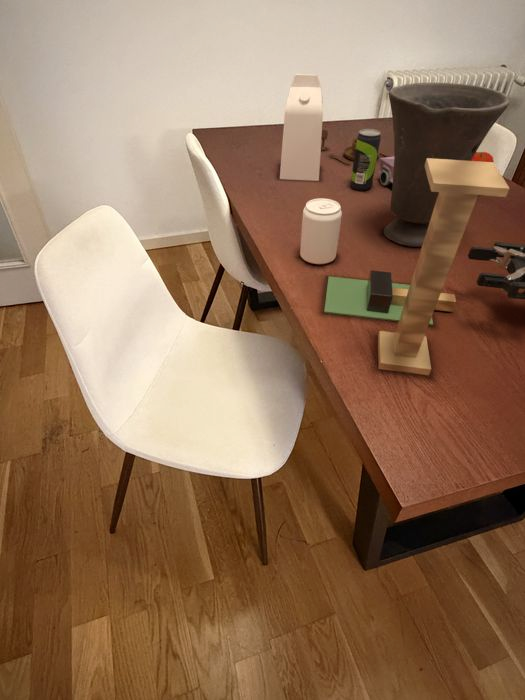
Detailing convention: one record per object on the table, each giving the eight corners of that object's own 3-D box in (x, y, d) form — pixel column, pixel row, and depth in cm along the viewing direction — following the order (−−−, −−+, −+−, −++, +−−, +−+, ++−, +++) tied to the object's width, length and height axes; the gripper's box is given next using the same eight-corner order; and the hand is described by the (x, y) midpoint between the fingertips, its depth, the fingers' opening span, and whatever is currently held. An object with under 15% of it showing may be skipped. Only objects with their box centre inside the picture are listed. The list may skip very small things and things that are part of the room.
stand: (424, 342, 71) (493, 162, 49) (428, 375, 65) (510, 188, 44) (377, 336, 72) (426, 157, 50) (378, 369, 66) (433, 182, 45)
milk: (319, 166, 130) (328, 70, 112) (318, 180, 122) (328, 79, 104) (282, 165, 131) (285, 69, 113) (279, 179, 123) (282, 78, 105)
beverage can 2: (375, 189, 118) (386, 133, 107) (357, 193, 116) (367, 136, 105) (362, 181, 122) (372, 127, 111) (345, 185, 120) (353, 130, 109)
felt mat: (426, 288, 82) (426, 286, 82) (432, 325, 74) (433, 324, 74) (328, 277, 85) (328, 276, 85) (323, 312, 76) (324, 311, 76)
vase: (472, 237, 97) (530, 93, 76) (422, 270, 87) (473, 114, 66) (397, 207, 109) (429, 75, 88) (345, 233, 99) (367, 91, 78)
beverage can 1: (293, 252, 92) (296, 202, 84) (322, 244, 95) (328, 194, 86) (312, 270, 87) (317, 217, 79) (342, 260, 90) (350, 209, 81)
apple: (465, 183, 121) (479, 144, 113) (490, 193, 116) (506, 153, 108) (446, 189, 117) (459, 150, 110) (471, 200, 112) (486, 159, 105)
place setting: (350, 167, 130) (353, 147, 126) (315, 148, 143) (317, 130, 138) (391, 158, 136) (395, 139, 132) (354, 141, 149) (357, 123, 144)
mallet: (448, 295, 80) (455, 278, 77) (454, 321, 74) (462, 304, 71) (366, 286, 82) (370, 270, 79) (366, 310, 76) (370, 293, 73)
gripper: (571, 234, 70) (474, 226, 72) (605, 280, 60) (491, 269, 62) (549, 270, 76) (459, 262, 78) (577, 318, 66) (473, 307, 68)
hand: (473, 265), depth 70 cm, fingers open, 8 cm apart
